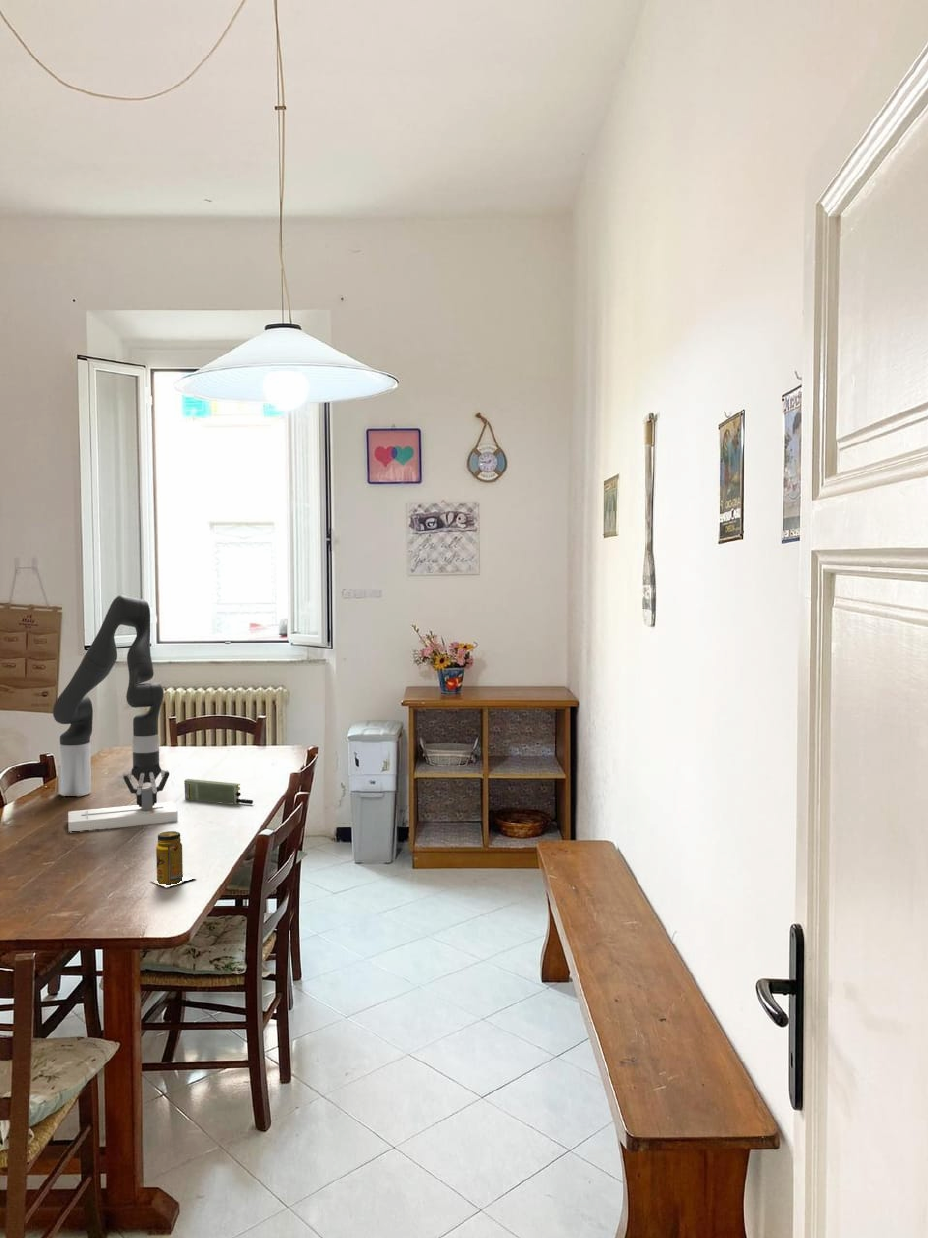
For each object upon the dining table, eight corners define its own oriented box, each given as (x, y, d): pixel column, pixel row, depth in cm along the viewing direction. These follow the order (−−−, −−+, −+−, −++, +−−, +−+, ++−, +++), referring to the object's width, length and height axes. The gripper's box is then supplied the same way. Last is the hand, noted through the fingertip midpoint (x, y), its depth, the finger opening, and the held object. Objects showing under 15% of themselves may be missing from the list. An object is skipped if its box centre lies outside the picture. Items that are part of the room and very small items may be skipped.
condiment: (149, 882, 219) (148, 834, 219) (180, 873, 226) (179, 826, 225) (166, 889, 215) (165, 840, 214) (197, 880, 221) (196, 832, 220)
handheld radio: (189, 797, 298) (255, 804, 290) (183, 800, 295) (249, 807, 287) (188, 778, 298) (254, 784, 290) (182, 780, 295) (249, 787, 286)
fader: (142, 810, 270) (141, 790, 269) (140, 806, 274) (140, 786, 274) (152, 809, 271) (152, 789, 270) (151, 805, 275) (150, 785, 275)
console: (68, 832, 258) (68, 822, 258) (68, 821, 269) (68, 811, 269) (177, 821, 270) (177, 811, 270) (173, 810, 281) (173, 801, 281)
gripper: (121, 753, 265) (122, 811, 266) (171, 750, 271) (172, 806, 272) (120, 748, 272) (121, 804, 273) (169, 745, 277) (169, 800, 279)
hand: (146, 805), depth 272 cm, fingers closed on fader, 3 cm apart
